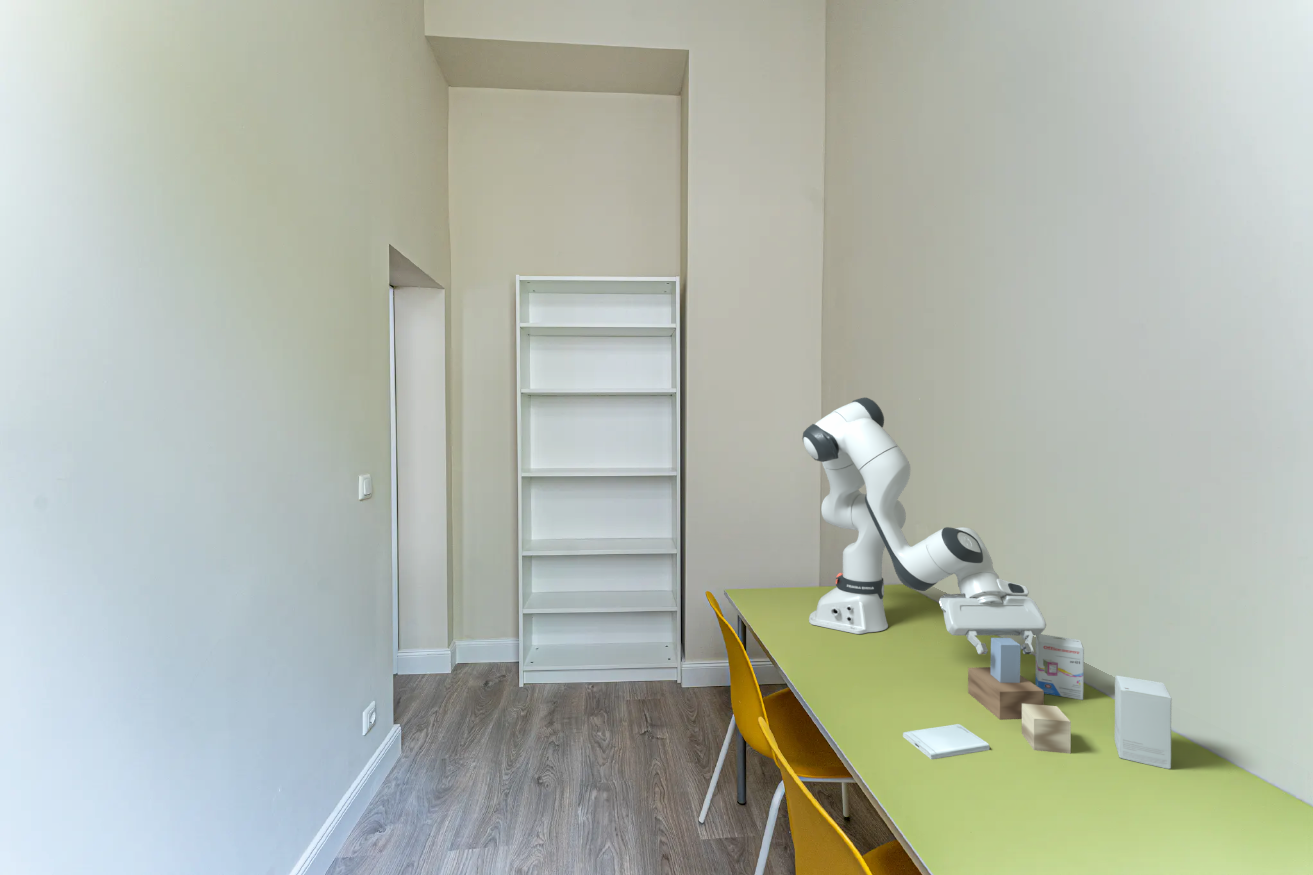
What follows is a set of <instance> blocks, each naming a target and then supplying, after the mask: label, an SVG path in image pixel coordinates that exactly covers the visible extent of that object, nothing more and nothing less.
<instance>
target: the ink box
mask: <svg viewBox="0 0 1313 875" xmlns="http://www.w3.org/2000/svg"><path fill="white" fill-rule="evenodd" d="M1084 663H1085V647H1084V646H1083V643H1082V641H1081V640H1080V639H1075V638H1068V637H1063V636H1056V635H1050V634H1049V635H1048V634H1043V633H1041V634H1040V635H1035V683H1034V684H1035V685H1036V686H1037V687H1039V688H1040V689H1042V690H1043V691H1044V695H1045V694H1046V695H1051V696H1058V697H1063V698H1069V699H1075V700H1080V701H1083V700H1084V680H1085V679H1084V678H1085V677H1084V675H1085V674H1084V672H1085V671H1084V670H1085V669H1084V668H1085V664H1084Z"/></svg>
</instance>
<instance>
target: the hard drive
mask: <svg viewBox="0 0 1313 875" xmlns="http://www.w3.org/2000/svg"><path fill="white" fill-rule="evenodd" d="M902 737H903V738H904V739H905V740H907V742H908V743H910V744H911V745H913V746H914V747H915V748H916V749H917V750H918V751H920V752H921V753H923V754H924V755H925V756H926V757H928V758H929V759H930V760H937V759H944V758H948V757H956V756H960V755H962V756H963V755H967V754H973V753H979V752H985V751H990V744H989V743H988V742H987V741H985V740H984V739H982V738H981V737H980V736H977V734H975V733H973V732H972V731H970V730H969V729H967V728H966V727H965V726H963V725H962V724H960V723H956V724H949V725H944V726H937V727H929V728H928V727H927V728H923V729H916V730H909V731H905V732H904V731H903V732H902Z"/></svg>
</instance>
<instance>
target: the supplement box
mask: <svg viewBox="0 0 1313 875" xmlns="http://www.w3.org/2000/svg"><path fill="white" fill-rule="evenodd" d="M1114 679H1115V680H1114V743H1115V746H1116V750H1117V753H1118V756H1119V758H1120V759H1123V760H1128V761H1131V762H1137V763H1140V764H1145V765H1148V766H1153V767H1158V768H1163V769H1166V770H1171V769H1172V700H1173V699H1172V696H1171V694H1170V692H1169V691H1168V688H1167V687H1166V685H1165V683H1164V682H1161V681H1153V680H1147V679H1141V678H1135V677H1129V676H1122V675H1115V678H1114Z"/></svg>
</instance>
